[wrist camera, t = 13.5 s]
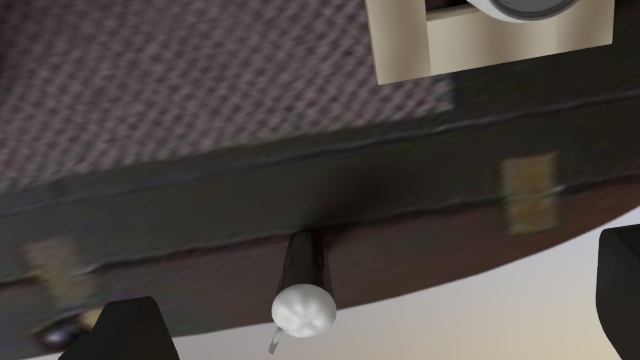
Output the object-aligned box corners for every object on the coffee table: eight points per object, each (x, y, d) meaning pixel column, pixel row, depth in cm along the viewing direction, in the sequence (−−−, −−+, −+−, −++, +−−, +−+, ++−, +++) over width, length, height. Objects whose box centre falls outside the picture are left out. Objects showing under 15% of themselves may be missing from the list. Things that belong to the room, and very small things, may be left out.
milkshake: (261, 249, 46) (246, 334, 37) (309, 213, 44) (306, 293, 35) (297, 282, 47) (291, 371, 38) (344, 249, 46) (350, 333, 37)
